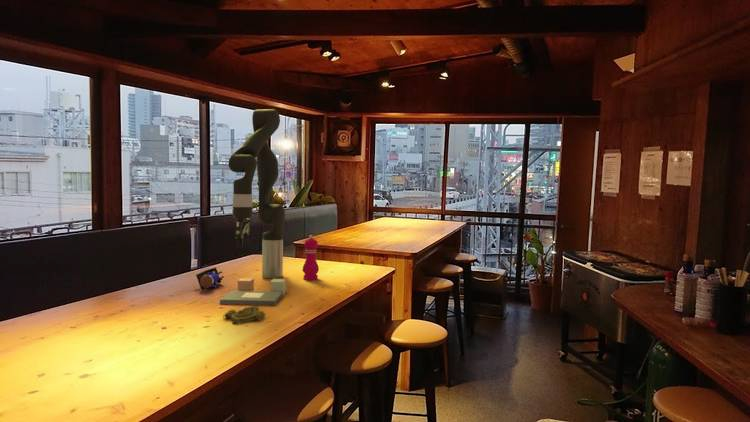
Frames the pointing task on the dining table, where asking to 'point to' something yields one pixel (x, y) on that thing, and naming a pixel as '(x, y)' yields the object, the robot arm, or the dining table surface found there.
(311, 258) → the pepper mill
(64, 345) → the dining table surface
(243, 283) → the terracotta block
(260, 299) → the base plate
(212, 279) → the character figurine
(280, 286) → the sage block
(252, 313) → the spaceship toy
